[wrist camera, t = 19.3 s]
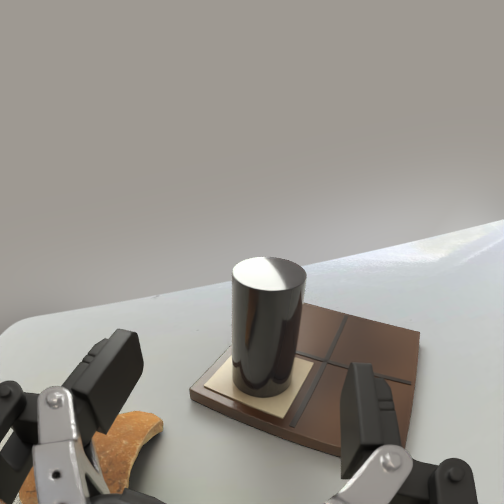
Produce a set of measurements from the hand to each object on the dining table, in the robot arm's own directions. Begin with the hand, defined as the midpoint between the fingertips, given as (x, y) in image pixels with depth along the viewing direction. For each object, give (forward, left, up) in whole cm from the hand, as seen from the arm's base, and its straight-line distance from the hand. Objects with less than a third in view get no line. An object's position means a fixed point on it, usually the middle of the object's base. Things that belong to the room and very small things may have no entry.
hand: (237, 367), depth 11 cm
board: (+1, +13, -11) cm, 17 cm away
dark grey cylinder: (-3, +9, -10) cm, 13 cm away
